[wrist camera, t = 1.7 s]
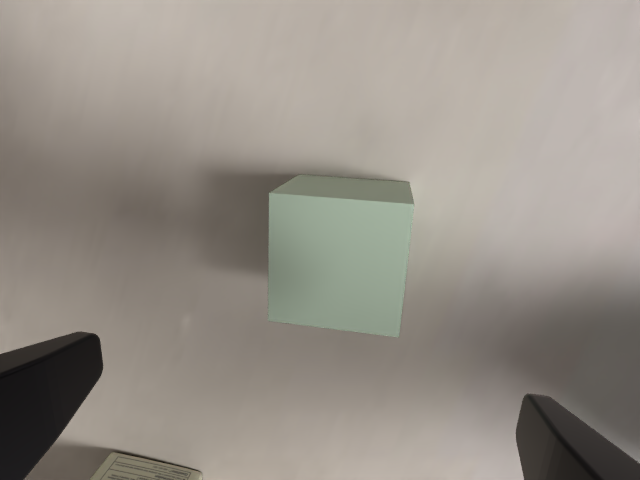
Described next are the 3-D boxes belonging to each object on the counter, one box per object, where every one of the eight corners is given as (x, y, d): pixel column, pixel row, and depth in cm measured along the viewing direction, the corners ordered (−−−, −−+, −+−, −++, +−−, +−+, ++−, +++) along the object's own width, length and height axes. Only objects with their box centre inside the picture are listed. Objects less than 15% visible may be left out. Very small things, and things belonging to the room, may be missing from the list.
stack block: (409, 182, 18) (414, 204, 14) (398, 285, 20) (399, 337, 15) (299, 174, 19) (268, 192, 14) (296, 274, 21) (267, 321, 16)
